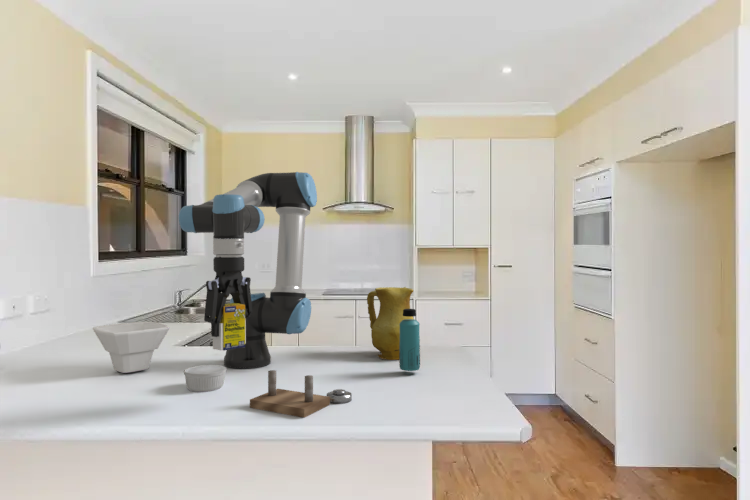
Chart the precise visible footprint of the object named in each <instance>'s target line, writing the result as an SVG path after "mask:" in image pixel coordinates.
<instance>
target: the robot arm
mask: <svg viewBox="0 0 750 500" xmlns="http://www.w3.org/2000/svg"><path fill="white" fill-rule="evenodd" d="M317 201H318V194H317V186H316V183H315V180H314V179H313V176H312V175H311V174H310V173H308V172H299V171H296V172H294V171H293V172H267V173H262V174H258V175H255V176H253V177H251V178H248V179H245V180H243V181H241V182H239V183H238V184H237V186H236V187H235V188H233V189H232V190H229V191H227V192H224V193H222V194H216V195H215V196H213V198H212V199H210V200H207V201H205V202H203V203H200V204H195V205H194V204H191V205H184V206H182V207H181V209H180V210H179V213H178V223H179V227H180V228H181V229H182V231H184V232H186V233H194V234H199V233H200V234H201V233H203V234H206V233H209V234H210V233H213V238H212V239H213V240H212V245H213V247H212V250H213V251H212V253H213V255H214V257H213V265H212V266H213V272H215V277H214V279H213V280H207V281H206V282H205V287H206V296H205V297H206V298H205V299H206V300H205V308H204V316H203V317H204V318H203V320H204V322H207V323H209V324H210V325H211V326H210V327H211V328H210V333H211V337H212V350H217V351H224V350H223V323H220V322H221V318H222V314H223V307H224V306H225V304H227V303H226V302H227V298H229V297H230V296H231V299H230V300H229V303H239V304H243V305H245V347H244V348H236V349H229V350H225V355H224V358H223V366H224V367H226V368H230V369H255V368H260V367H265V366H268V365H270V364H271V363H272V359H271V354H270V352H269V347H268V345H267V341H266V334H285V335H292V334H294V335H295V334H302V333H303V332H305V330H306V329H307V327H308V326H309V323H310V319H311V315H312V303H311V299H309V298H308V297H307V292H306V291H305V290H304V289H303V268H304V267H303V265H304V254H305V253H304V250H305V232H306V231H305V228H306V218H307V217H308V216H309V215H310V214H311V208H314V207H316V205H317ZM265 207H266V208H275V212H276V213H277V215H278V216H279V224H278V242H277V254H276V255H277V256H276V269H275V270H276V272H275V285H274V288H272V289H271V290H270V293H269V297H267V296H266V293H265V292H257V293H251V279H252V278H251V277H248V276H247V277H246V276H244V275H243V274H242V272H244V271H245V258H244V256H242V255H244V254H245V233H246V234H253V233H256V232H258V231H260V230H261V229H262V228H263V227H264V224H265V214H264V212H263V210H262V209H261V208H265ZM215 317H216V318H215Z"/></svg>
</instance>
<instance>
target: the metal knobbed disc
mask: <svg viewBox="0 0 750 500" xmlns="http://www.w3.org/2000/svg"><path fill="white" fill-rule="evenodd" d="M352 395H353V393H352V392H350V391H347V390H345V389H342V388H337V389H333V390H332V391H329V392H327V393H326V396H328V397H330V404H333V405H334V404H335V405H336V404H337V405H339V404H341V405H342V404H348V403H350V402H352Z"/></svg>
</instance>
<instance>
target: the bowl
mask: <svg viewBox="0 0 750 500" xmlns="http://www.w3.org/2000/svg"><path fill="white" fill-rule="evenodd" d="M92 330H93V332H94V333H95V336H96V337H97V339H98V340H99V342H100V344H101V345H102V347H103V349H104V351H106V352H108V353H109V356H110V360H111V363H112V366H113V369H114V370H115V371H117V372H119V373H123V374H126V373H134V372H140V371H145V370H149V367H150V364H151V362H152V358H153V354H154V351H155V350H158V349H159V347H160V345H161V344H162V342H163V341H164V339H165V337H166V335H167V333H168V331H169V330H170V327H169V326H168V325H166V324H164V323H160V322H155V321H134V322H124V323H123V322H122V323H114V324H113V323H112V324H106V325H97V326H93V327H92Z"/></svg>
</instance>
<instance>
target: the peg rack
mask: <svg viewBox="0 0 750 500" xmlns="http://www.w3.org/2000/svg"><path fill="white" fill-rule="evenodd" d="M267 371H268V372H267V373H268V374H267V376H268V377H267V383H268V384H267V385H268V386H267V390H268V391H267V392H266V393H263V394H260V395H258V396H255V397H252V398H250V399H249V408H250V409H254V410H260V411H265V412H271V413H277V414H283V415H288V416H294V417H299V418H307V417H309V416H310V415H312V414H315V413H317V412H318V411H320V410H322V409H324V408H326V407H328V406H330V405H331V403H330V397H328V396H327V395H320V394H315V393H314V375H311V374H309V375H304V392H302V391H295V390H289V389H283V388H277V370H275V369H273V370H267Z"/></svg>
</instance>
